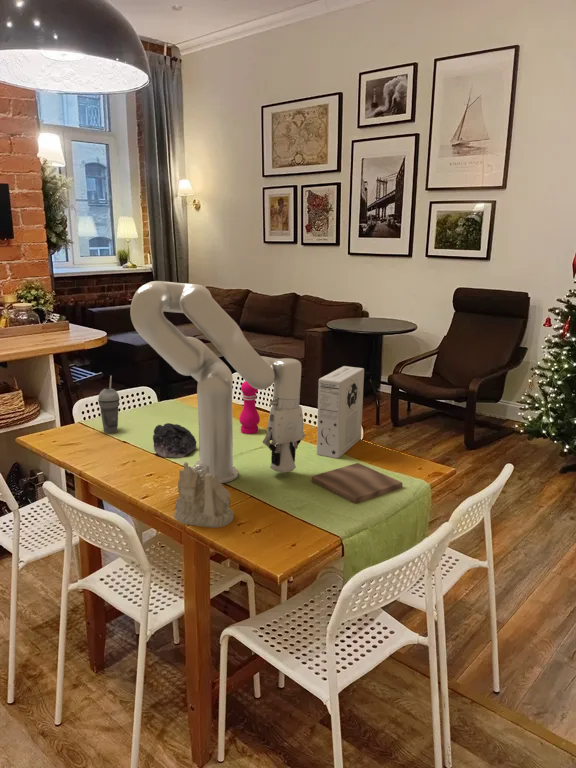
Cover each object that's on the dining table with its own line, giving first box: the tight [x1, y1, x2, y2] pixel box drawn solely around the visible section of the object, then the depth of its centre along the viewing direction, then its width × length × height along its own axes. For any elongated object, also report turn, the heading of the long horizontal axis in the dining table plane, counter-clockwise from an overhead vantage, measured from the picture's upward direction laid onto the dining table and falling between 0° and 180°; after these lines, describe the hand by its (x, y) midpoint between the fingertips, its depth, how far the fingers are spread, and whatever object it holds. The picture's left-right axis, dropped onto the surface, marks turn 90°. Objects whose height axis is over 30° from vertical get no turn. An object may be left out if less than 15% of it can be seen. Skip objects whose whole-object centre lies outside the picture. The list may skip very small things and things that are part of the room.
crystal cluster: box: [152, 422, 197, 459], centre depth 191 cm, size 13×14×10 cm
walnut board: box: [311, 462, 403, 505], centre depth 168 cm, size 18×18×2 cm
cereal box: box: [316, 365, 365, 459], centre depth 195 cm, size 22×8×25 cm, turn 154°
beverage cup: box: [97, 375, 120, 434], centre depth 208 cm, size 7×7×20 cm
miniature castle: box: [173, 461, 235, 529], centre depth 149 cm, size 16×16×15 cm
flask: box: [269, 443, 297, 473], centre depth 173 cm, size 7×7×10 cm
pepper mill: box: [239, 381, 261, 435], centre depth 210 cm, size 7×7×20 cm
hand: (283, 462), depth 173 cm, fingers closed on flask, 4 cm apart
